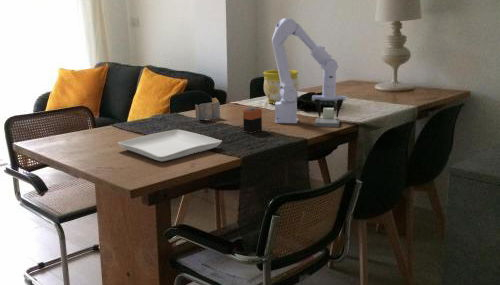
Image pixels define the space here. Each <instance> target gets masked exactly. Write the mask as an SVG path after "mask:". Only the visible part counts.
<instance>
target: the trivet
mask: <svg viewBox="0 0 500 285" xmlns="http://www.w3.org/2000/svg"><path fill="white" fill-rule="evenodd" d="M340 121H341V120H340V118H338V117H336V118H335V117H334V118H323V117H316V118H315V121H314V127H322V128H339V127H340Z"/></svg>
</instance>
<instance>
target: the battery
mask: <svg viewBox="0 0 500 285" xmlns="http://www.w3.org/2000/svg"><path fill="white" fill-rule="evenodd" d="M262 110H263V109H261V108H258V106H253V107H247V108H246V109H244V110H243V111H242V114H243V118H242V119H243V122H242V123H243V132H244V131H247V132H254V131H258V130H262V129H263V126H262V125H263V124H262V123H263V121H262V120H263V119H262V116H263V114H262ZM262 131H263V130H262Z"/></svg>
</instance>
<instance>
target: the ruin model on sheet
mask: <svg viewBox="0 0 500 285" xmlns="http://www.w3.org/2000/svg"><path fill="white" fill-rule="evenodd" d="M211 101H212V102H206V103H205V102H204V103H200V104H199V105H198V104H195V106H194V108H195V109H194V110H195V121H196V120H205V119H212V120H215V119H214V118H218V119H221V108H220V107H221V104H220V103H221V102H219V100H218V99H217V97H214V98H213V97H211Z"/></svg>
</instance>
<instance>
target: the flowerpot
mask: <svg viewBox="0 0 500 285" xmlns="http://www.w3.org/2000/svg"><path fill="white" fill-rule="evenodd" d="M289 70H290V75H291V79H292V82H293V84H294V88H295V89H296V90H297V91H298V89H299V88H298V86H299V84H298V74H299V71H298V70H293V69H289ZM262 74H263V75H264V77H263V78H264V80H263V92H264V94H265V96H266V98H267V102H268V104H270V103H274V104H273V105H275V103H276V102H280V100H281V98H282V97H281V96H280V78H279V73H278V69H269V70H265V71H263V73H262Z"/></svg>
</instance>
